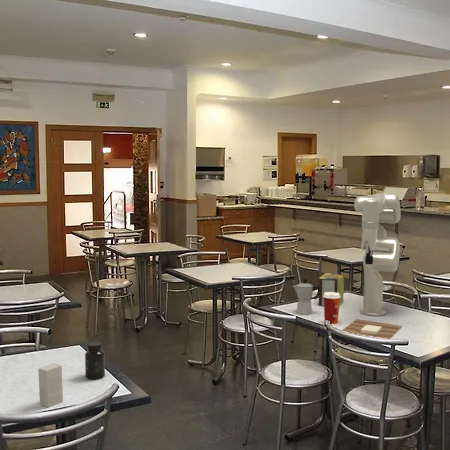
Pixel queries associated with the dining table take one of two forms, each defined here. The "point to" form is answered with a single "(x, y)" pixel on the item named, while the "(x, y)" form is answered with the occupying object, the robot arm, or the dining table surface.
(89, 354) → the supplement bottle
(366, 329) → the tile
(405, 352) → the dining table surface
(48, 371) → the skincare box
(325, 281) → the protein box
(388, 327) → the board
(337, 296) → the coffee cup
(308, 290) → the coffee maker
